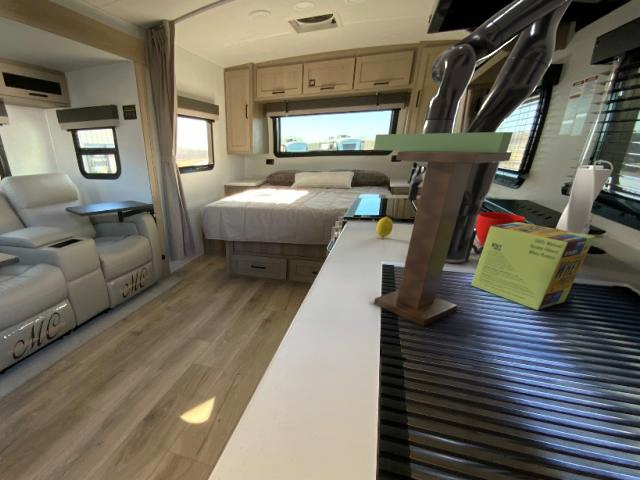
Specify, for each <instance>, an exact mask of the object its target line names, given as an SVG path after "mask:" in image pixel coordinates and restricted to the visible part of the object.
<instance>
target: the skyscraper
mask: <svg viewBox="0 0 640 480" xmlns="http://www.w3.org/2000/svg"><path fill="white" fill-rule="evenodd" d="M597 163H603V164H607V165H609V166H610V169H609V168H604V165H597ZM613 171H614V166H613V164H612V163H611V161H608V160H603V159H600V160H599V159H598V160H595V161H594V162H593V165H591V164H583V165H579V166H578V167H577V169H576V173H575V177H574V179H573V183H572V187H571V190H570V193H569V194H570V195H569V199H568V203H567V205H566V206H565V207H564V210H563V212H562V213H561V215H560V218H559V220H558V222H557V225H556V226H555V229H559V230H564V231H569V232H575V233H581V234H587V235H589V232H590V230H591V229H590V227H591V224H592V222H593V217H594V215H595V214H594V213H593V214H591V213H592V209H593V205H594V202H595V200H596V199H597V197H598V196H599V195H600V194H601V192H602V190H603V188H604V187H605V185H606V183H607V182H608V180H609V179H610V177H611V175H612V173H613ZM590 215H591V217H590ZM589 218H590V219H589Z"/></svg>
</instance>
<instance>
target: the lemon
mask: <svg viewBox="0 0 640 480" xmlns="http://www.w3.org/2000/svg"><path fill="white" fill-rule="evenodd" d="M393 226H394V225H393V220H392V219H391V218H390V217H388V216H385V217H382V218H380V219H379V220H378V222H377V224H376V228H375V229H376V233H377V235H378V236H380V237H381V239H384V238H385V237H387V236H389V235H390V234H391V233H392V231H393V228H394V227H393Z"/></svg>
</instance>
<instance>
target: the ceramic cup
mask: <svg viewBox="0 0 640 480" xmlns="http://www.w3.org/2000/svg"><path fill="white" fill-rule="evenodd" d="M517 222H520V223H525V222H526V217H524V216H522V215H518V214H514V213H506V212H493V211H492V212H491V211H488V212H479V216H478V219H477V222H476V226H475V230H477V234H476V238H477V240H478V241H479V243H480V245H481V246H484V245H485V242H486V239H487V236H488V233H489V230H490V227H491V226H494V225H502V224H509V223H517Z"/></svg>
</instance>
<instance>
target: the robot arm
mask: <svg viewBox="0 0 640 480" xmlns="http://www.w3.org/2000/svg"><path fill="white" fill-rule="evenodd" d="M572 1H573V0H513V1H512V2H511V3H509V4H508V5H506V6H505V7H503V8H502V9H500V10H499V11H498V12H496V13H495V14H494V15H492V16H491V17H490V18H489V19H487V20H486V21H484V22H483V23H482V24H481V25H480V26H478V27H477V28H476V29H475V30H474V31H472V32H471V33H469V34H467V36H465V37H463V38H462V39H461V40H459V41H457V42H456V43H454V44H452V45H451V46H450V47H447V48H446V49H445V50H444V51H443V52H442V53H440V54H439V55H438V56H437V57H436V58H435V60H434V61H433V63H432V65H431V68H430V77H431V79H432V81H433V82H434V83H436V84H439V87H438V89H437V91H436V92H435V93H434V94H433V95H432V96H431V97H430V98H429V100H428V103H427V107H426V111H425V115H424V120H423V123H422V125H421V127H420V132H419V134H434V133H454V125H455V120H456V117H457V112H458V108H459V104H460V101H461V99H462V97H463V96H464V93H465V92H466V90H467V88H468V85H469V84H470V81H471V80H472V77H473V74H474V72H475V68H476V65H477V62H479V61H481V60H483V59H486V58H488V57H489V56H492V55H493V54H494V53H496V52H497V51H498V50H500V49H501V48H503V47H504V46H505V45H507V44H508V43H510V42H511V41H512V40H513V39H515V38H516V37H518V36H519V37H518V39H517V41H516V43H515V45H514V46H513V48H512V50H511V52H510V54H509V55H508V56H507V58H506V60H505V62H504V64H503V65H502V68H501V69H500V71H499V73H498V75H497V77H496V78H495V81H494V83H493V85H492V87H491V89H490V90H489V92H488V94H487V96H486V98H484V101H483V102H482V104H481V106H480V108H479V110H478V112H477V113H476V116H475V117H474V118H473V121H472V122H471V124H470V125H469V127H468V128H467V129H466V131H465V133H487V132H498V130H499V128H500V127H501V125H502V124H503V123H504V122H506V120H507V119H508V118H509V117H510V116H511V115H512V114H513V113H514V112H515V111H516V110H518V109H519V107H520V106H521V105H522V104H524V103H525V101H526V100H527V99H528V98H529V97H530V96H531V95H532V94H533V92H534V91H535V90H536V88H537V87H538V86H539V83H540V82H541V81H542V79H543V77H544V75H545V74H546V72H547V70H548V68H549V67H550V65H551V63H552V61H553V58H554V54H555V49H556V38H557V30H558V26H559V24H560V22H561V20H562V18H563V16H564V14H565V12H566V11H567V9H568V7H569V6H570V4H571V3H572ZM427 163H428V162H423V161H412V163H411V165H410V170H409V172H408V177H407V180H406V183H407V184H409V192H408V196H407V200H408V201H416V200H417V197H418V195H419V194H418V193H419V189H420V186H421V184H422V183H423V181H424V176H425V172H426V167H427ZM500 163H501V162H490V163H479V164H472V166H471V170H470V173H469V177H468V181H467V184H466V188H465V191H464V195H463V199H462V202H461V206H460V209H459V213H458V217H457V220H456V224H455V228H454V231H453V235H452V238H451V242H450V246H449V249H448V253H447V256H446V260H445V263H448V264H449V263H450V264H461V263H465V262H469V259H470V256H471V252H472V249H473V252H474V253H475V254H476V255H477V254H478V255H479V254H480V253H482V251H483V248H484V245H481V246H480V247H479V248H478V247H477V245H475V244H474V243H475V240H476V238H477V235H476V234H477V230H476V222H477V219H478V216H479V214H480V213H481V209H482V205H483V203H484V200H485V198H486V196H487V195H488V194H489V192H490V190H491V188H492V186H493V183H494V181H495V177H496V174H497V172H498V169H499V166H500Z"/></svg>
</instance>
